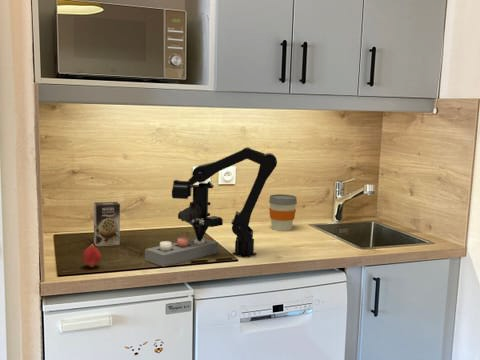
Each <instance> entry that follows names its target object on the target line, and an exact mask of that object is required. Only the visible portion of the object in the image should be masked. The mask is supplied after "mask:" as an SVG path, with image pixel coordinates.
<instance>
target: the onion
mask: <svg viewBox="0 0 480 360" xmlns="http://www.w3.org/2000/svg"><path fill="white" fill-rule="evenodd" d="M101 258H102V253H101V252H100V250H99V249H98V248H97V246H95V244H94V243H91V244H90V245H89V246H88V247H87V248H86V249H84V251H83V253H82V261H83V262H84V263H85V264H86V265H87V266H88V267H90V268H94V267H95V266H97V264H99V262H100V261H101Z"/></svg>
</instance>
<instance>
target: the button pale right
mask: <svg viewBox="0 0 480 360" xmlns="http://www.w3.org/2000/svg"><path fill="white" fill-rule="evenodd" d="M194 243H196V244H202V243H205V240H201V241H198V240H194Z"/></svg>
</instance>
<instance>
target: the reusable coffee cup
mask: <svg viewBox="0 0 480 360" xmlns="http://www.w3.org/2000/svg"><path fill="white" fill-rule="evenodd" d="M297 199H298V198H297V196H295V195H292V194H275V193H274V194H271V195H270V196H269V199H268V200H269V201H268V202H269V218H270V223H271V229H272V230H273V231H277V232H290V231H292V230H293V229H292V227H293V221H294V220H295V217H296V211H297V209H296V206H297Z"/></svg>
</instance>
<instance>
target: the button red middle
mask: <svg viewBox="0 0 480 360" xmlns="http://www.w3.org/2000/svg"><path fill="white" fill-rule="evenodd" d="M189 240H190V239H189V238H188V237H178V238H177V240H176V241H177V247H180V248H185V247H188V246H189Z"/></svg>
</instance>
